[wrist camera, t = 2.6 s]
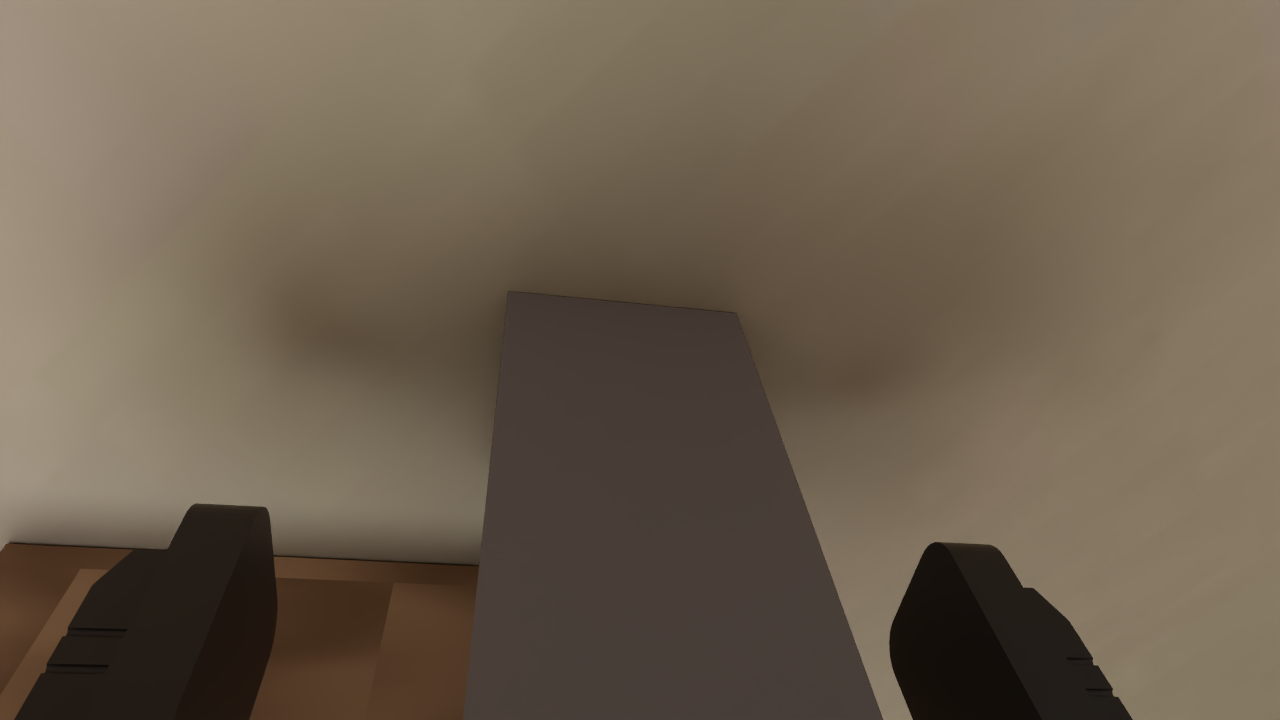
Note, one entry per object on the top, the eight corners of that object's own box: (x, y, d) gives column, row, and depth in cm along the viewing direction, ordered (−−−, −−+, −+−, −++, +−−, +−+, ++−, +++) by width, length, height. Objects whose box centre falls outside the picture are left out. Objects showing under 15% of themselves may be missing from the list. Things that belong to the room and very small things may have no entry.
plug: (736, 312, 14) (1005, 1058, 5) (694, 487, 16) (849, 1241, 7) (507, 291, 13) (425, 1079, 5) (493, 474, 15) (416, 1270, 7)
